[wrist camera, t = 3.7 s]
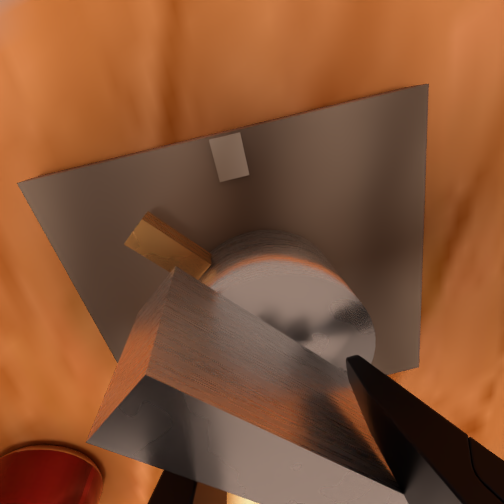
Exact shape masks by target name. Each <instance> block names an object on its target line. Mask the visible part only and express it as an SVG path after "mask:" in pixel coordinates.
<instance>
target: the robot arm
mask: <svg viewBox="0 0 504 504" xmlns="http://www.w3.org/2000/svg"><path fill="white" fill-rule="evenodd" d="M346 369H347V376H348V380H349V383H350V385H351V388H352V390H353V393H354V395H355V397H356V400H357V402H358V405H359V407H360V410H361V412H362V414H363V417H364V419H365V422H366V424H367V426H368V429H369V431H370V433H371V435H372V437H373V439H374V441H375V443H376V444H377V446H378V448H379V450H380V452H381V454H382V456H383V457H384V459H385V461H386V463H387V465H388V467H389V469H390V470H391V472H392V474H393V476H394V478H395V480H396V482H397V483H398V485H399V487H400V489H401V490H402V492H403V494H404V496H405V498H406V500H407V502H408V504H504V461H503V460H502V459H500V458H499V457H498V456H496V455H495V454H493V453H492V452H491V451H489V450H488V449H486V448H485V447H484V446H482V445H481V444H480V443H478V442H477V441H475V440H474V439H473V438H471V437H469V438H468V435H467V434H466V433H464V432H463V431H462V430H460V429H459V428H458V427H456V426H455V425H454V424H452V423H451V422H449V421H448V420H447V419H445V418H444V417H443V416H441V415H440V414H439V413H437V412H436V411H435V410H433V409H432V408H430V407H429V406H428V405H426V404H425V403H424V402H422V401H421V400H420V399H418V398H417V397H415V396H414V395H413V394H411V393H410V392H409V391H407V390H406V389H405V388H403V387H402V386H401V385H399V384H398V383H396V382H395V381H394V380H392V379H391V378H390V377H388V376H387V375H386V374H384V373H383V372H381V371H380V370H379V369H377V368H376V367H375V366H373V365H372V364H371V363H369V362H368V361H367V360H365V359H364V358H362V357H361V356H360V355H353V356H350V357H347V358H346ZM148 504H227V492H226V491H223V490H220V489H217V488H215V487H212V486H209V485H206V484H203V483H200V482H197V481H195V480H192V479H189V478H186V477H183V476H180V475H177V474H175V473H172V472H169V471H166V470H164V471H163V473H162V475H161V477H160V479H159V481H158V483H157V485H156V487H155V489H154V491H153V494H152V496H151V498H150V500H149V502H148Z"/></svg>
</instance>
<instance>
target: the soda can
mask: <svg viewBox="0 0 504 504" xmlns="http://www.w3.org/2000/svg"><path fill="white" fill-rule="evenodd" d="M102 489H103V480H102V475H101V473H100V471H99V469H98V467H97V466H96V464H95V463H94V462H93V461H92V460H91V459H90V458H89V457H87V456H86V455H84V454H82V453H80V452H78V451H76V450H73V449H70V448H67V447H62V446H57V445H33V446H28V447H23V448H20V449H17V450H14V451H12V452H10V453H8V454H6V455H4V456H2V457H0V504H98V503H99V500H100V497H101V494H102Z"/></svg>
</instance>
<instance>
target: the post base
mask: <svg viewBox="0 0 504 504" xmlns="http://www.w3.org/2000/svg"><path fill="white" fill-rule="evenodd" d="M428 88H429V84H423V85H417V86H411V87H405V88H401V89H397V90H393V91H388V92H384V93H380V94H376V95H372V96H368V97H364V98H359V99H355V100H351V101H347V102H343V103H339V104H335V105H331V106H326V107H322V108H318V109H314V110H310V111H306V112H302V113H297V114H293V115H289V116H285V117H281V118H277V119H273V120H269V121H264V122H260V123H256V124H252V125H248V126H244V127H240V128H235V129H231V130H227V131H223V132H219V133H215V134H211V135H207V136H202V137H198V138H194V139H190V140H186V141H182V142H178V143H173V144H169V145H165V146H161V147H157V148H153V149H149V150H145V151H140V152H136V153H132V154H128V155H124V156H120V157H116V158H111V159H107V160H103V161H99V162H95V163H91V164H87V165H83V166H78V167H74V168H70V169H66V170H62V171H58V172H54V173H49V174H45V175H41V176H38V177H34V178H31V179H28V180H25V181H22V182H19V183H17V184H18V186H19V188H20V189H21V191H22V193H23V195H24V197H25V198H26V200H27V202H28V204H29V206H30V207H31V209H32V211H33V213H34V214H35V216H36V218H37V220H38V222H39V223H40V225H41V227H42V229H43V231H44V232H45V234H46V236H47V238H48V240H49V241H50V243H51V245H52V247H53V248H54V250H55V252H56V254H57V256H58V257H59V259H60V261H61V263H62V265H63V266H64V268H65V270H66V272H67V274H68V275H69V277H70V279H71V281H72V282H73V284H74V286H75V288H76V290H77V291H78V293H79V295H80V297H81V299H82V300H83V302H84V304H85V306H86V307H87V309H88V311H89V313H90V315H91V316H92V318H93V320H94V322H95V324H96V325H97V327H98V329H99V331H100V333H101V334H102V336H103V338H104V340H105V341H106V343H107V345H108V347H109V349H110V350H111V352H112V354H113V356H114V358H115V359H116V361H117V363H118V362H119V359H120V357H121V354H122V352H123V349H124V347H125V344H126V342H127V340H128V337H129V335H130V332H131V330H132V327H133V325H134V322H135V320H136V317H137V315H138V313H139V311H140V310H141V309H142V308H143V306H144V305H145V304H146V303H147V301H148V300H149V299H150V298H151V296H152V295H153V294H154V293H155V291H156V290H157V289H158V288H159V286H160V285H161V284H162V283H163V281H164V280H165V279H166V278H167V276H168V275H169V274H170V272H168V271H167V270H165V269H163V268H162V267H160V266H158V265H157V264H155V263H154V262H152V261H150V260H149V259H147V258H145V257H144V256H142V255H141V254H139V253H137V252H136V251H134V250H132V249H131V248H129V247H128V246H126V245H124V243H125V242H126V240H127V239H128V238H129V236H130V235H131V233H132V232H133V231H134V229H135V228H136V226H137V225H138V224H139V222H140V221H141V220H142V218H143V217H144V215H145V214H146V213H147V211H149V212H150V213H152V214H153V215H155V216H156V217H158V218H159V219H161V220H162V221H163V222H165V223H166V224H168V225H169V226H171V227H172V228H174V229H175V230H177V231H178V232H180V233H181V234H183V235H184V236H186V237H187V238H189V239H190V240H192V241H193V242H195V243H196V244H197V245H199V246H200V247H202V248H203V249H205V250H206V251H208V252H209V253H210V252H211V251H212V250H213V249H215V248H216V247H217V246H218V245H220V244H222V243H223V242H225V241H226V240H228V239H231V238H233V237H235V236H237V235H240V234H244V233H247V232H252V231H257V230H279V231H284V232H289V233H292V234H295V235H298V236H300V237H302V238H304V239H306V240H308V241H309V242H311V243H312V244H314V245H315V246H316V247H317V248H318V249H319V250H320V251H321V252H322V253H323V254H324V256H325V257H326V258H327V259H328V261H329V262H330V263H331V265H332V266H333V267H334V268H335V270H336V271H337V272H338V274H339V275H340V276H341V277H342V279H343V280H344V281H345V283H346V284H347V285H348V286H349V288H350V289H351V290H352V292H353V293H354V294H355V295H356V297H357V298H358V299H359V301H360V302H361V303H362V305H363V306H364V307H365V308H366V310H367V312H368V314H369V315H370V317H371V320H372V323H373V326H374V330H375V337H376V342H375V352H374V357H373V360H372V363H371V364H372V365H373V366H375V367H376V368H377V369H379V370H380V371H381V372H383V373H384V374H386V375H389V374H393V373H397V372H401V371H405V370H409V369H413V368H417V367H419V350H420V321H421V292H422V263H423V234H424V205H425V176H426V147H427V117H428Z"/></svg>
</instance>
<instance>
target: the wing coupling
mask: <svg viewBox="0 0 504 504" xmlns="http://www.w3.org/2000/svg"><path fill="white" fill-rule="evenodd" d="M124 245H126V246H128V247H129V248H131V249H132V250H134V251H136V252H137V253H139V254H141V255H142V256H144V257H145V258H147V259H149V260H150V261H152V262H154V263H155V264H157V265H158V266H160V267H162V268H163V269H165V270H167V271H168V272H170V274H169V275H168V276H167V278H166V279H165V280H164V281H163V283H162V284H161V285H160V286H159V288H158V289H157V290H156V291H155V293H154V294H153V295H152V296H151V298H150V299H149V300H148V301H147V303H146V304H145V305H144V306H143V308H142V309H141V310H140V311H139V313H138V315H137V317H136V320H135V322H134V325H133V327H132V330H131V332H130V335H129V337H128V340H127V342H126V344H125V347H124V349H123V352H122V354H121V357H120V359H119V362H118V364H117V367H116V369H115V372H114V374H113V377H112V379H111V382H110V384H109V387H108V389H107V392H106V394H105V396H104V399H103V401H102V404H101V406H100V409H99V411H98V414H97V416H96V419H95V421H94V424H93V426H92V429H91V431H90V434H89V436H88V439H87V441H86V443H89V444H92V445H95V446H98V447H100V448H103V449H106V450H109V451H112V452H115V453H118V454H120V455H123V456H126V457H129V458H132V459H135V460H138V461H140V462H143V463H146V464H149V465H152V466H155V467H157V468H160V469H163V470H166V471H169V472H172V473H175V474H177V475H180V476H183V477H186V478H189V479H192V480H195V481H197V482H200V483H203V484H206V485H209V486H212V487H215V488H217V489H220V490H223V491H226V492H229V493H232V494H235V495H237V496H240V497H243V498H246V499H249V500H252V501H254V502H257V503H260V504H408V502H407V500H406V498H405V496H404V494H403V492H402V490H401V489H400V487H399V485H398V483H397V482H396V480H395V478H394V476H393V474H392V472H391V470H390V469H389V467H388V465H387V463H386V461H385V459H384V457H383V456H382V454H381V452H380V450H379V448H378V446H377V444H376V443H375V441H374V439H373V437H372V435H371V433H370V431H369V429H368V426H367V424H366V422H365V419H364V417H363V414H362V412H361V410H360V407H359V405H358V402H357V400H356V397H355V395H354V393H353V390H352V388H351V385H350V383H349V380H348V376H347V369H346V358H347V357H350V356H353V355H360V356H361V357H362V358H364V359H365V360H367V361H368V362H369V363H372V360H373V357H374V352H375V342H376V337H375V330H374V326H373V323H372V320H371V317H370V315H369V314H368V312H367V310H366V308H365V307H364V306H363V305H362V303H361V302H360V301H359V299H358V298H357V297H356V295H355V294H354V293H353V292H352V290H351V289H350V288H349V286H348V285H347V284H346V283H345V281H344V280H343V279H342V277H341V276H340V275H339V274H338V272H337V271H336V270H335V268H334V267H333V266H332V265H331V263H330V262H329V261H328V259H327V258H326V257H325V256H324V254H323V253H322V252H321V251H320V250H319V249H318V248H317V247H316V246H315V245H314V244H312V243H311V242H309V241H308V240H306V239H304V238H302V237H300V236H298V235H295V234H292V233H289V232H284V231H279V230H257V231H252V232H247V233H244V234H240V235H237V236H235V237H233V238H231V239H228V240H226V241H225V242H223V243H222V244H220V245H218V246H217V247H216V248H215V249H213V250H212V251H211V252H210V253H209V252H208V251H206V250H205V249H203V248H202V247H200V246H199V245H197V244H196V243H195V242H193V241H192V240H190V239H189V238H187V237H186V236H184V235H183V234H181V233H180V232H178V231H177V230H175V229H174V228H172V227H171V226H169V225H168V224H166V223H165V222H163V221H162V220H161V219H159V218H158V217H156V216H155V215H153V214H152V213H150V212H149V211H147V213H146V214H145V215H144V217H143V218H142V220H141V221H140V222H139V224H138V225H137V226H136V228H135V229H134V231H133V232H132V233H131V235H130V236H129V238H128V239H127V240H126V242H125V243H124Z"/></svg>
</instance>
